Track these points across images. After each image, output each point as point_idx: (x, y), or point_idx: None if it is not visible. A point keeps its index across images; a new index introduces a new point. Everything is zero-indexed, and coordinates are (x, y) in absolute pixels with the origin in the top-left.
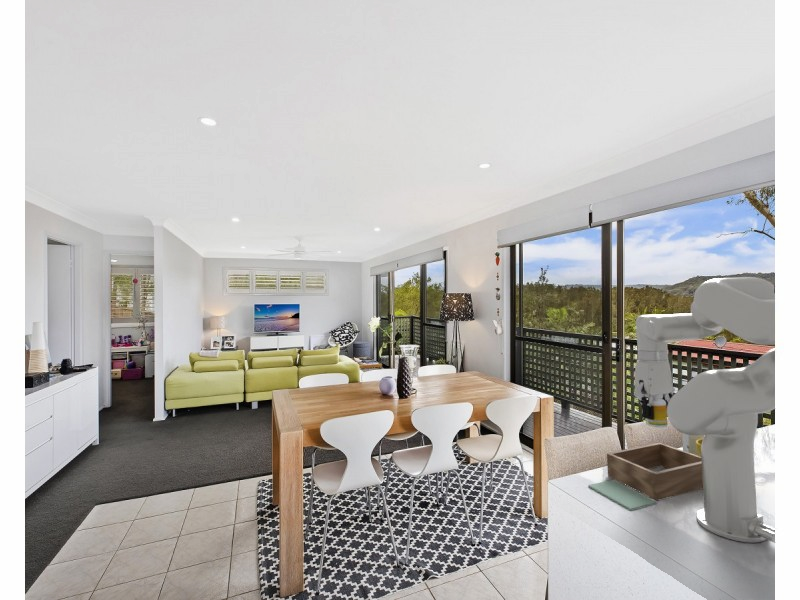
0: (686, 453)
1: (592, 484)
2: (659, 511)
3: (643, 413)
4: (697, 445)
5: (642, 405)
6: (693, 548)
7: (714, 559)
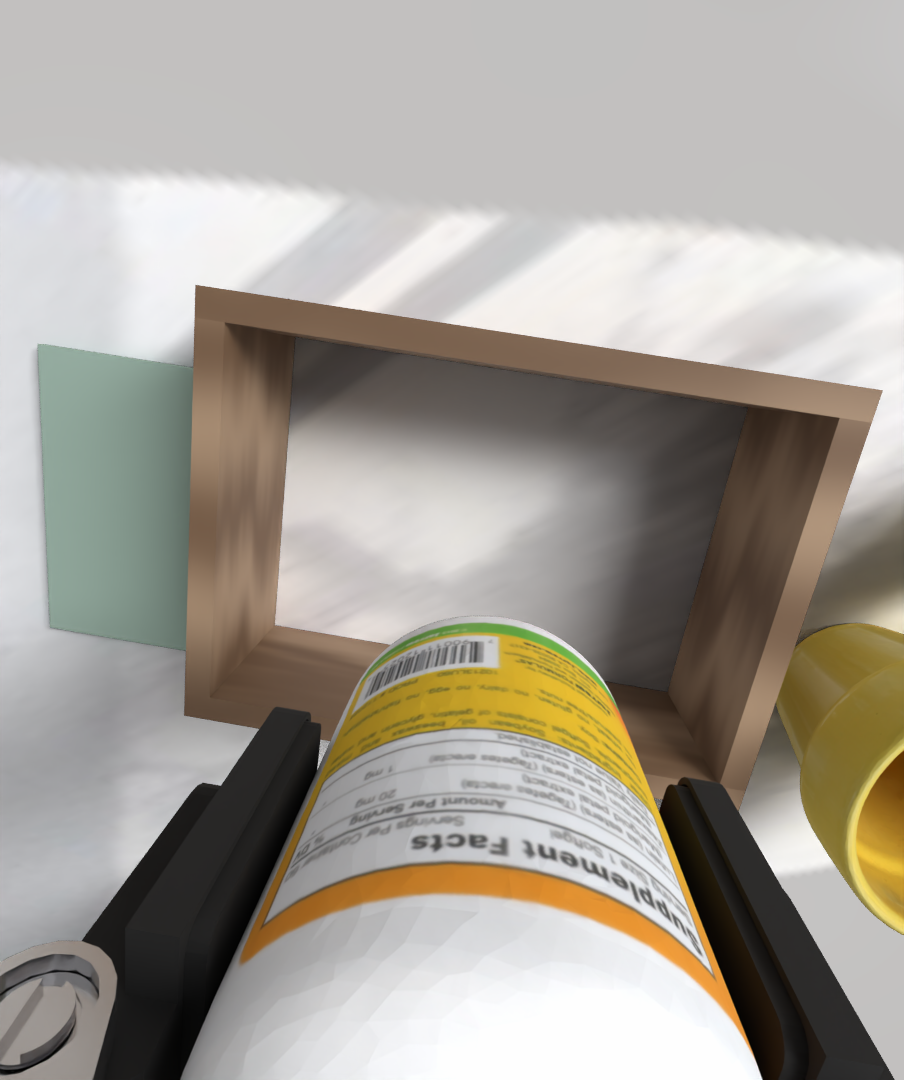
0: (760, 653)
1: (67, 351)
2: (171, 693)
3: (191, 797)
4: (897, 722)
5: (157, 891)
6: (52, 866)
7: (59, 918)
